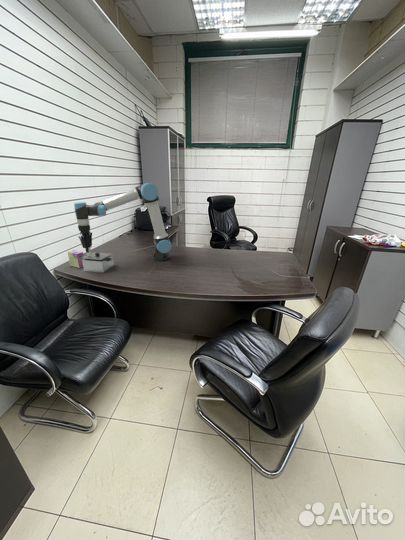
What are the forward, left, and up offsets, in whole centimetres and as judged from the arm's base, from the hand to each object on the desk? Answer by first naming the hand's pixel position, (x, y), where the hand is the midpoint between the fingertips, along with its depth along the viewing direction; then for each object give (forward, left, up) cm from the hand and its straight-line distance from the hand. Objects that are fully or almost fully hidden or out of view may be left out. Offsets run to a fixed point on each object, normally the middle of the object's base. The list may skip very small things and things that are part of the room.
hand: (89, 255), depth 165 cm
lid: (-4, -4, -2) cm, 6 cm away
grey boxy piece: (-4, -4, -11) cm, 13 cm away
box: (+15, -5, -12) cm, 19 cm away
